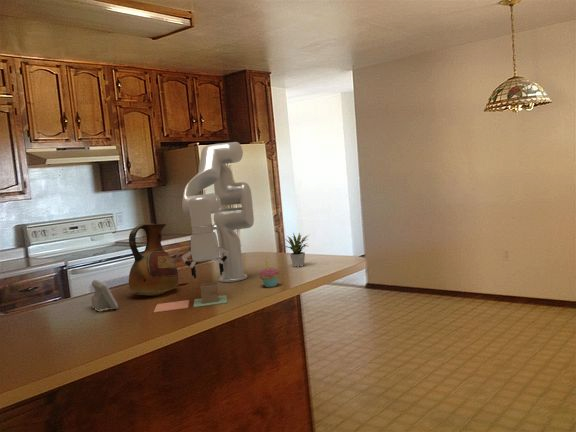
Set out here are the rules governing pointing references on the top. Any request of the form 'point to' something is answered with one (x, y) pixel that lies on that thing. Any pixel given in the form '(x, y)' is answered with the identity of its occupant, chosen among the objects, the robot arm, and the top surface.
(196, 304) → the mat
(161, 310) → the mat
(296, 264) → the house plant
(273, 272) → the cupcake
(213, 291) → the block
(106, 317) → the top surface
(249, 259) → the top surface
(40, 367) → the top surface
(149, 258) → the ceramic pitcher
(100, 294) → the digital clock
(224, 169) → the robot arm
